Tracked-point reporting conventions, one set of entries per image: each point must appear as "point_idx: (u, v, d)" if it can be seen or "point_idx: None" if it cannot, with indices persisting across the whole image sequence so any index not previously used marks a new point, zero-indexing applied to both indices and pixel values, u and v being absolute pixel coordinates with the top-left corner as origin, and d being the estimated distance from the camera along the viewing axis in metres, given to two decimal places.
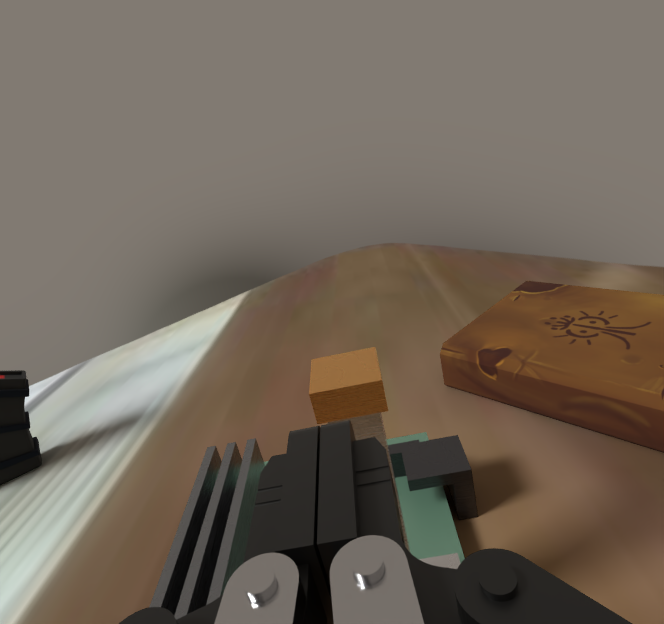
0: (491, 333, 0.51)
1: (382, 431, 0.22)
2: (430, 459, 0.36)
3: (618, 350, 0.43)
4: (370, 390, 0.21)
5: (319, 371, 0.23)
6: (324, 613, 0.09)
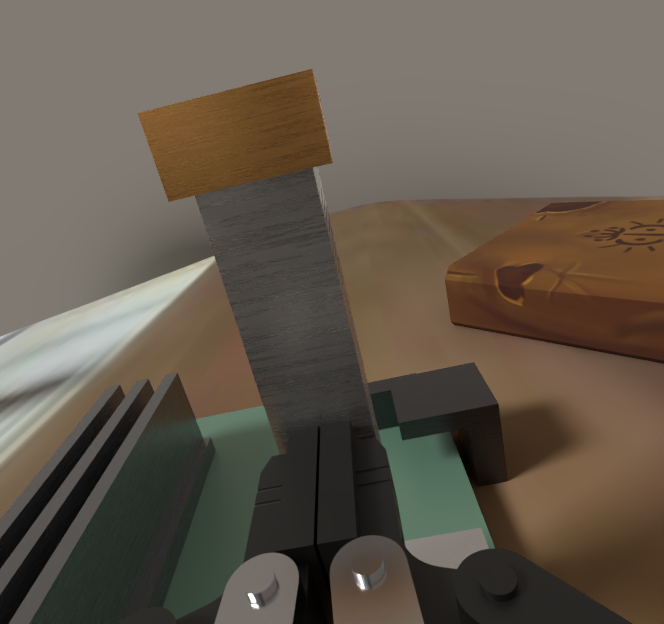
0: (512, 251, 0.38)
1: (325, 231, 0.10)
2: (433, 394, 0.24)
3: None
4: (286, 102, 0.09)
5: None
6: (324, 613, 0.09)
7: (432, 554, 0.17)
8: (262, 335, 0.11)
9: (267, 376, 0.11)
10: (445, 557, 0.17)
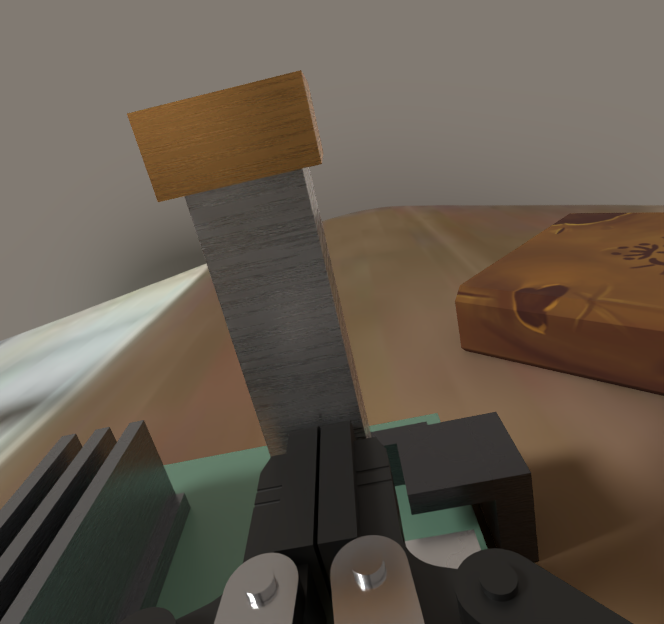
0: (531, 270, 0.34)
1: (314, 232, 0.10)
2: (449, 454, 0.20)
3: None
4: (275, 103, 0.09)
5: None
6: (324, 613, 0.09)
7: (424, 556, 0.17)
8: (252, 336, 0.11)
9: (257, 377, 0.11)
10: (437, 559, 0.17)
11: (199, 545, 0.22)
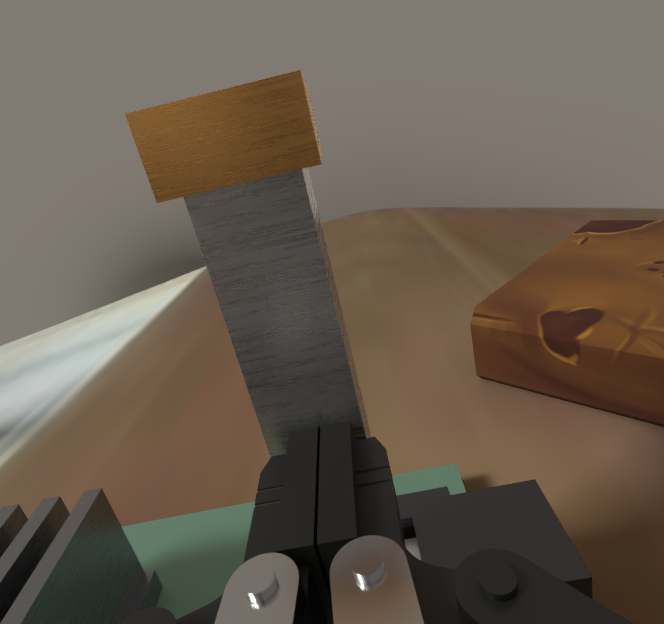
0: (556, 288, 0.30)
1: (314, 233, 0.10)
2: (481, 542, 0.16)
3: None
4: (274, 103, 0.09)
5: None
6: (324, 613, 0.09)
7: None
8: (252, 336, 0.11)
9: (257, 377, 0.11)
10: None
11: None
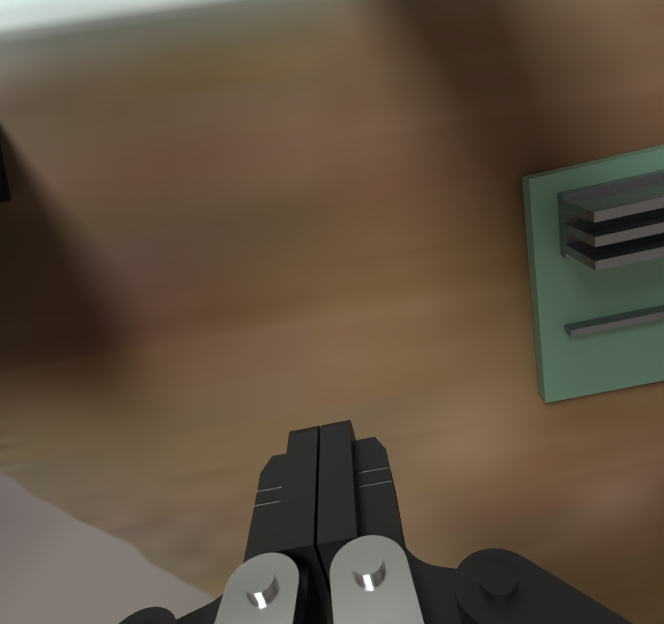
0: None
1: None
2: None
3: None
4: None
5: None
6: (324, 613, 0.09)
7: None
8: None
9: None
10: None
11: None
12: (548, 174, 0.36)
